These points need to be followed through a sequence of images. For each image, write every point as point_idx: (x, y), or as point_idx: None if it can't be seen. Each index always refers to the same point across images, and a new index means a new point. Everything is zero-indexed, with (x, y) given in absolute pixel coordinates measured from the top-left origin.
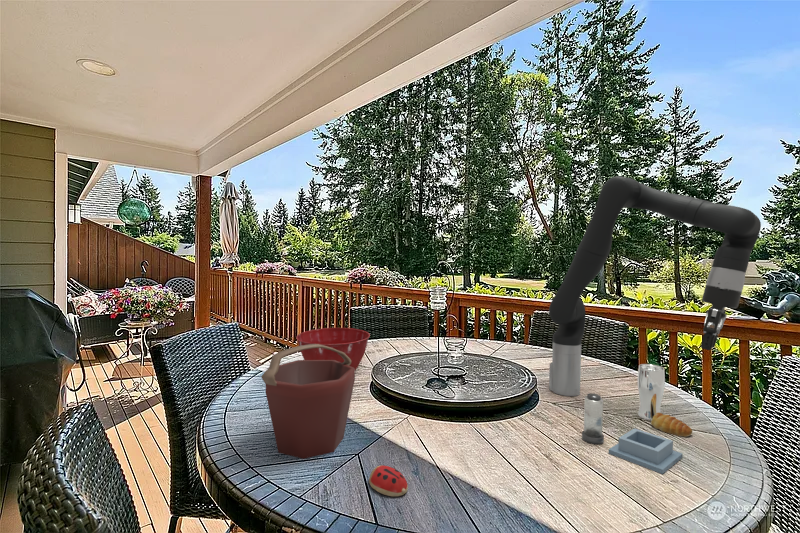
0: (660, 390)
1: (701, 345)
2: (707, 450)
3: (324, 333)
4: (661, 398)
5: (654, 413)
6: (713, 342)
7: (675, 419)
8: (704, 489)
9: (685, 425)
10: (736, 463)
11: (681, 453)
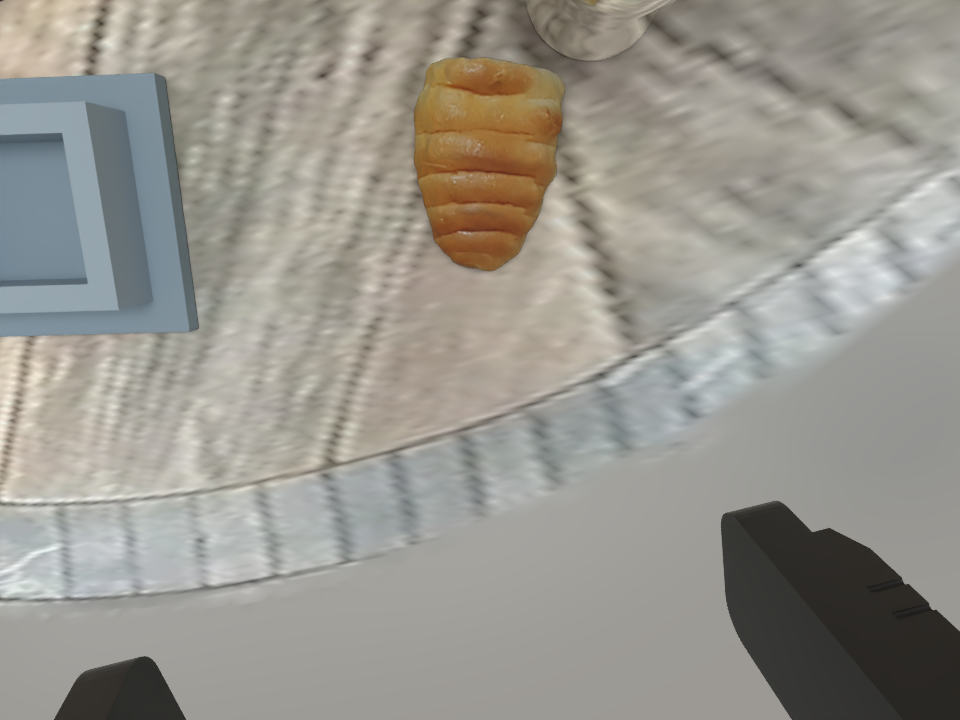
0: (590, 4)
1: (71, 701)
2: (377, 370)
3: None
4: (614, 22)
5: (553, 25)
6: (783, 680)
7: (495, 178)
8: (10, 472)
9: (485, 238)
10: (346, 484)
11: (183, 328)
